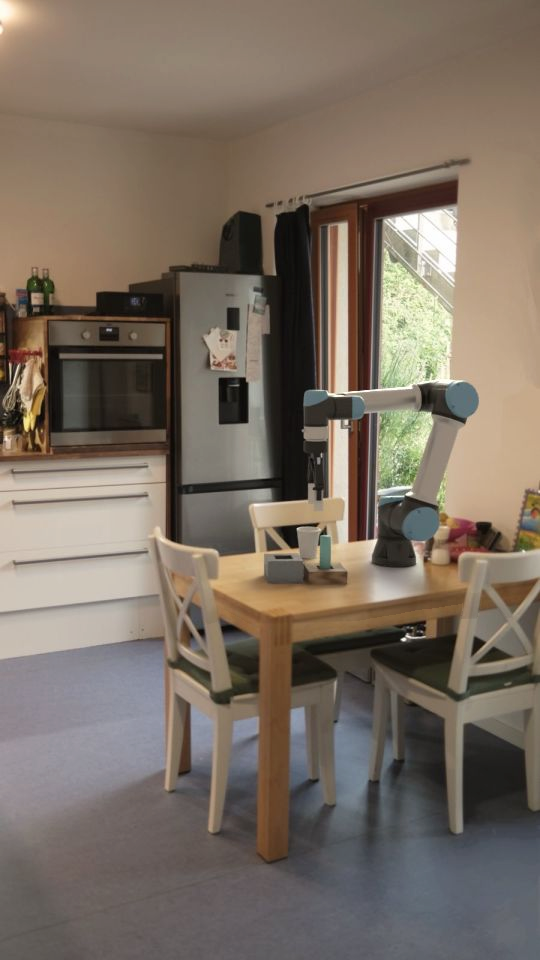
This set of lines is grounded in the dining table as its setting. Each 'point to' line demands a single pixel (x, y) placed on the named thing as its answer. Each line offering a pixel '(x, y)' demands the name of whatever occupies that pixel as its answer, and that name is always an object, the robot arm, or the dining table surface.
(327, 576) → the mount
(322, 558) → the pin
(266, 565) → the socket
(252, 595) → the dining table surface
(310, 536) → the dixie cup
